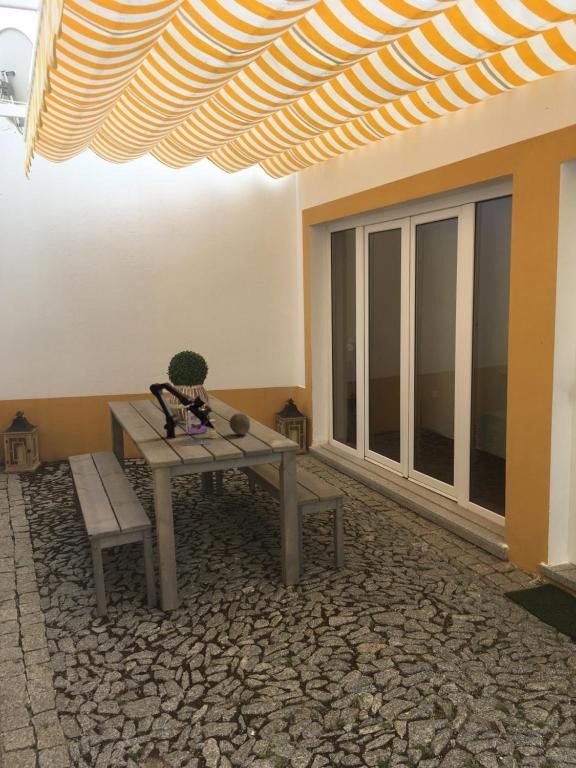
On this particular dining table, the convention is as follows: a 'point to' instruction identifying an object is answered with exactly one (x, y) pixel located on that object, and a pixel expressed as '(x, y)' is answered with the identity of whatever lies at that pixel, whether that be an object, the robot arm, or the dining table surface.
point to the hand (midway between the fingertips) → (214, 426)
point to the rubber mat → (195, 442)
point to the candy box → (194, 424)
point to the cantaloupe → (239, 424)
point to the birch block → (212, 431)
